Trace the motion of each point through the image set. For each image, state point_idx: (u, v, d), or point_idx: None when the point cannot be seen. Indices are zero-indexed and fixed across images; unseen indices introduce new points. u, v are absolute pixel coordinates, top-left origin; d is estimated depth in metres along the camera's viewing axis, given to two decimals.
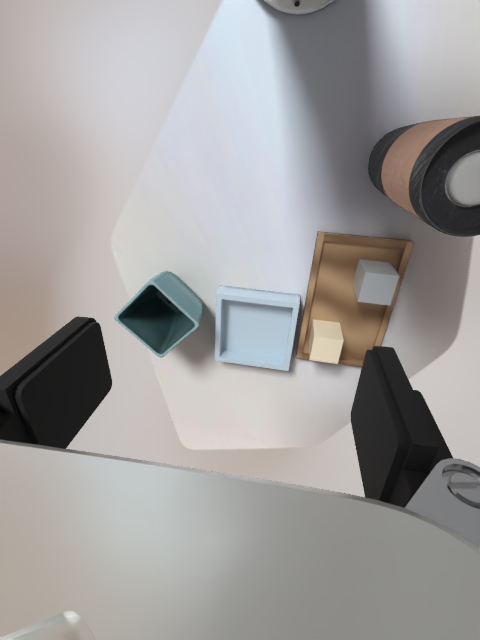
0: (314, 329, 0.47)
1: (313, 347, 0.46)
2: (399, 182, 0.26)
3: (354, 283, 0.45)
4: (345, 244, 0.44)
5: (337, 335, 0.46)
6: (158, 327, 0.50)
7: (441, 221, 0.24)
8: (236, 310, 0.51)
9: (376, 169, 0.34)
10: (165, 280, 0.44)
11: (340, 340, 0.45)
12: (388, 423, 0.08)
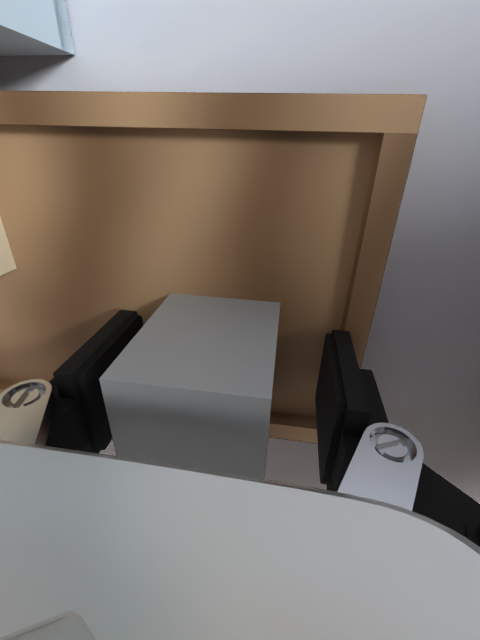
0: None
1: None
2: None
3: (184, 305, 0.11)
4: (343, 244, 0.10)
5: None
6: None
7: None
8: None
9: None
10: None
11: None
12: (333, 395, 0.09)
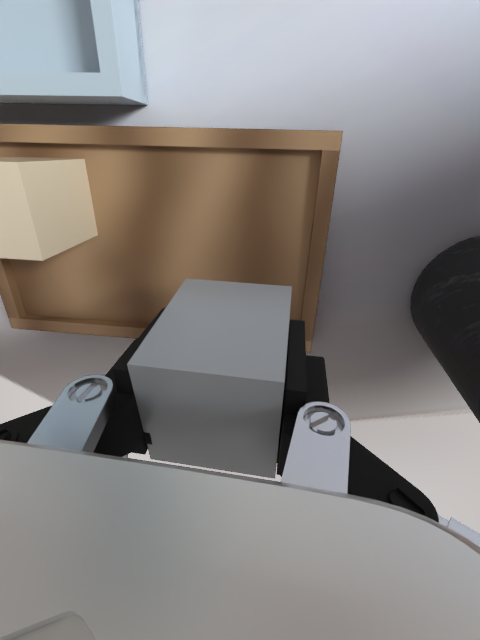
0: (49, 163, 0.15)
1: None
2: None
3: (200, 290, 0.12)
4: (305, 214, 0.17)
5: (54, 238, 0.15)
6: None
7: None
8: None
9: None
10: None
11: (38, 252, 0.15)
12: None
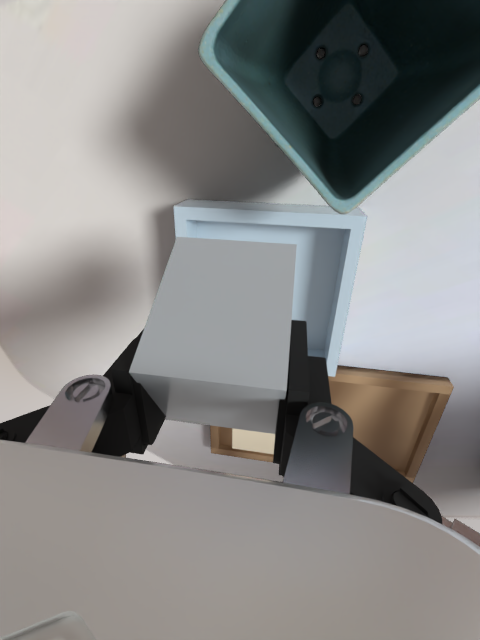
0: None
1: None
2: None
3: (194, 257, 0.10)
4: (421, 415, 0.29)
5: None
6: (271, 22, 0.15)
7: None
8: (300, 246, 0.23)
9: None
10: None
11: None
12: None
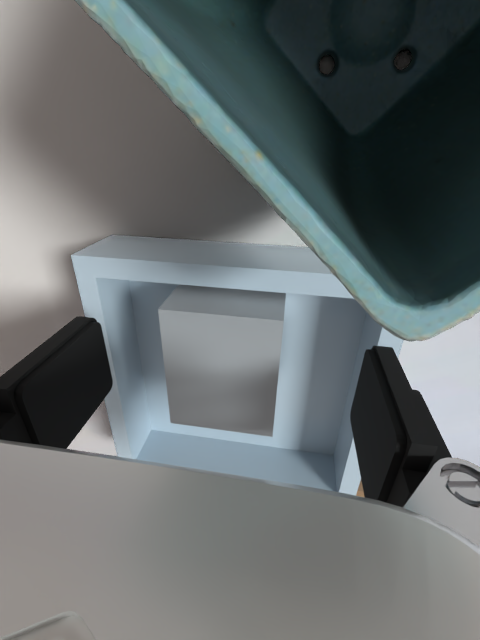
0: None
1: None
2: None
3: (184, 335, 0.11)
4: None
5: None
6: None
7: None
8: (296, 313, 0.14)
9: None
10: None
11: None
12: (387, 422, 0.08)
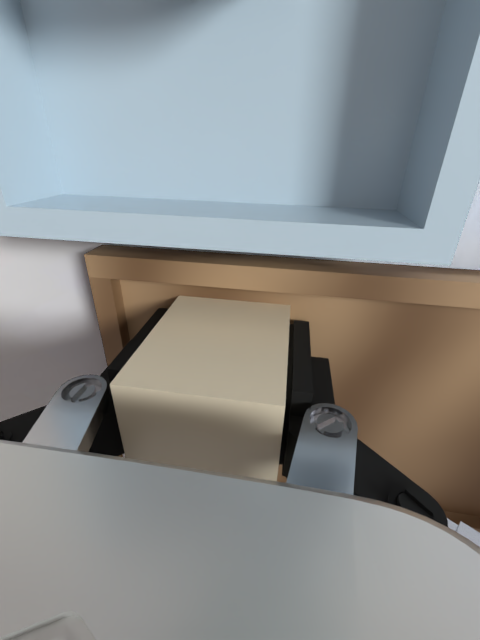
0: None
1: (204, 403, 0.07)
2: None
3: None
4: None
5: None
6: None
7: None
8: None
9: None
10: None
11: None
12: None
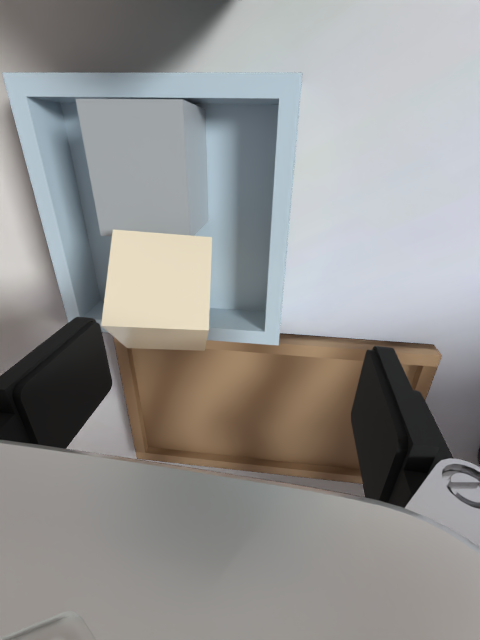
0: None
1: (168, 238, 0.13)
2: None
3: (101, 126, 0.12)
4: None
5: None
6: None
7: None
8: (217, 152, 0.16)
9: None
10: None
11: (205, 321, 0.13)
12: (388, 423, 0.08)
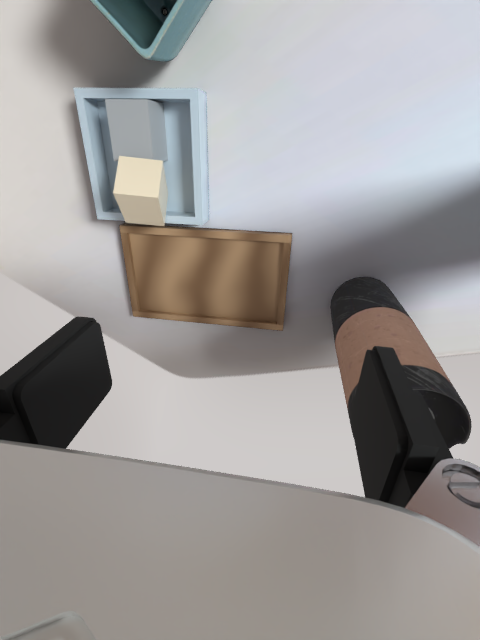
0: (164, 176, 0.33)
1: (143, 160, 0.31)
2: (391, 345, 0.25)
3: (114, 110, 0.30)
4: (278, 266, 0.38)
5: (160, 198, 0.31)
6: None
7: None
8: (170, 124, 0.33)
9: (371, 295, 0.33)
10: None
11: (157, 194, 0.30)
12: (388, 423, 0.08)
